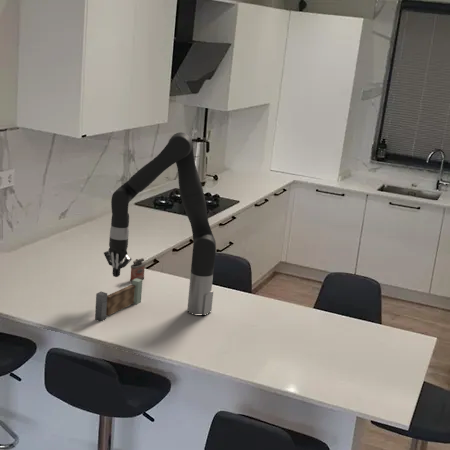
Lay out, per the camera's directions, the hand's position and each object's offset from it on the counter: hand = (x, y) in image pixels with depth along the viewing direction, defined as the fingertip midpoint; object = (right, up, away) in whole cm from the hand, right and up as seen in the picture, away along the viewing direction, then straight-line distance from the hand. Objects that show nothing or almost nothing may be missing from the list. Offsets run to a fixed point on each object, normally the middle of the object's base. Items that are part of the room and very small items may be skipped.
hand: (116, 276), depth 286 cm
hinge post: (-4, -16, -14) cm, 22 cm away
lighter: (+5, -4, +31) cm, 32 cm away
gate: (+2, -13, -3) cm, 14 cm away
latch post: (+7, -11, +6) cm, 15 cm away
